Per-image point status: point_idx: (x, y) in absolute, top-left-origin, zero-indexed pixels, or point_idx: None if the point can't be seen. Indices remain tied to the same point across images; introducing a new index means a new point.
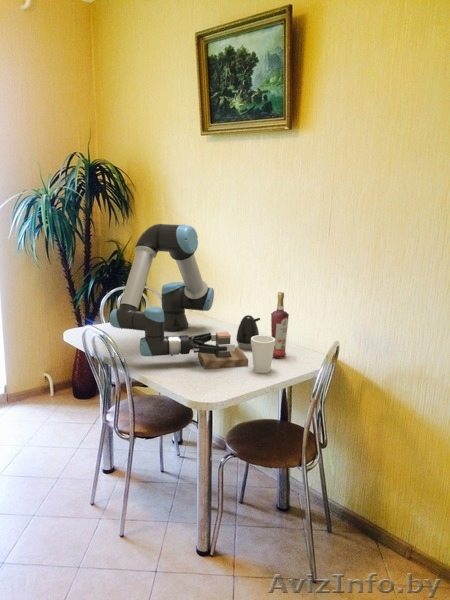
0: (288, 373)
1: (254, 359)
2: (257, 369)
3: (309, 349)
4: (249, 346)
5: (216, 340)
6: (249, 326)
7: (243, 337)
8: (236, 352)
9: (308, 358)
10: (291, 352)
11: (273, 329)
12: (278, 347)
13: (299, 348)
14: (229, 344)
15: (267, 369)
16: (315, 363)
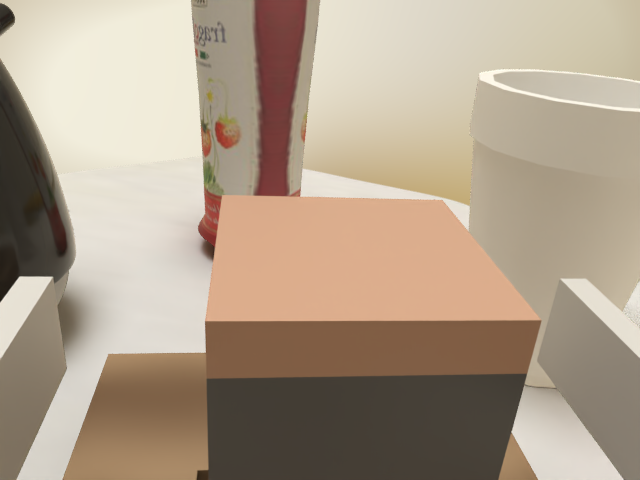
0: None
1: (614, 297)
2: None
3: (181, 163)
4: (60, 296)
5: (295, 475)
6: (9, 101)
7: (5, 242)
8: None
9: (304, 185)
10: (199, 202)
11: (282, 52)
12: (300, 178)
13: (150, 177)
14: (616, 321)
15: None
16: (372, 185)
